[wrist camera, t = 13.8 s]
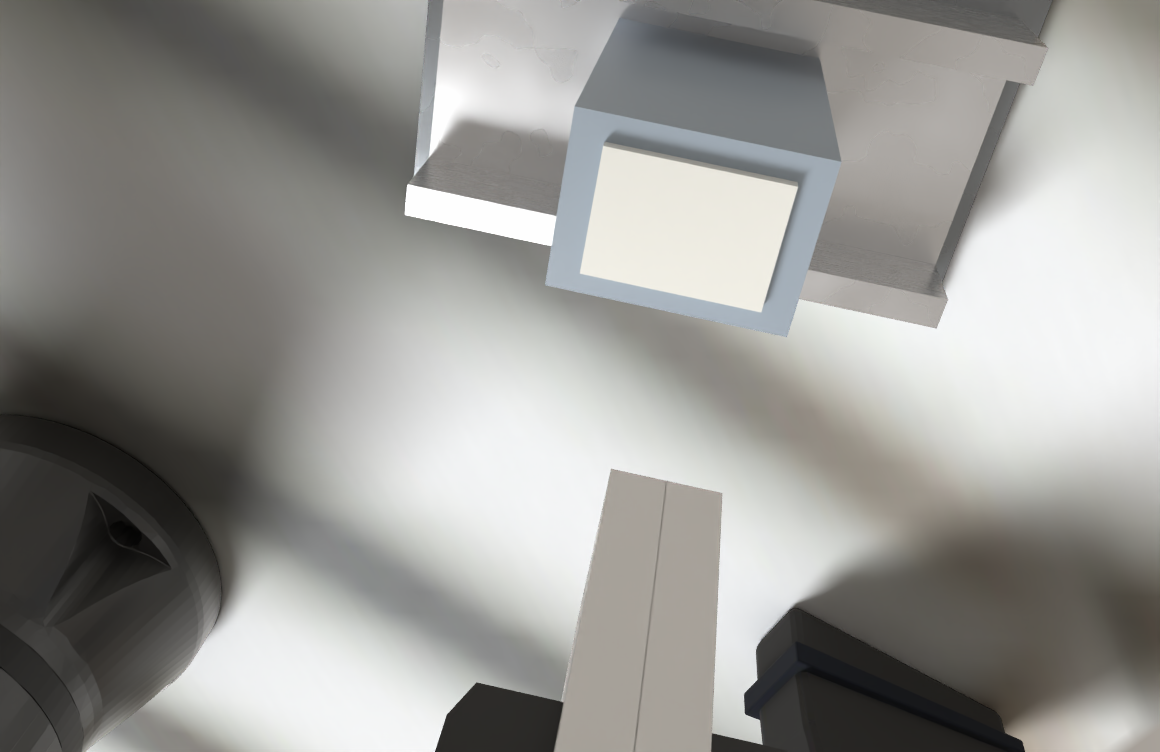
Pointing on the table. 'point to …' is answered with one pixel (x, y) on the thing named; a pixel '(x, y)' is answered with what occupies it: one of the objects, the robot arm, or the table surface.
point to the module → (696, 177)
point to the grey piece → (766, 19)
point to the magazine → (858, 698)
